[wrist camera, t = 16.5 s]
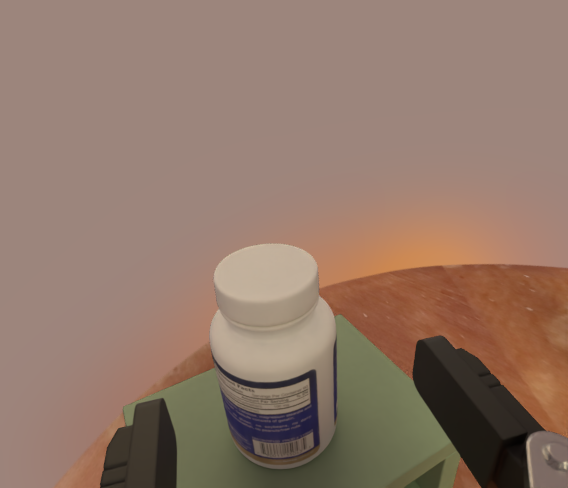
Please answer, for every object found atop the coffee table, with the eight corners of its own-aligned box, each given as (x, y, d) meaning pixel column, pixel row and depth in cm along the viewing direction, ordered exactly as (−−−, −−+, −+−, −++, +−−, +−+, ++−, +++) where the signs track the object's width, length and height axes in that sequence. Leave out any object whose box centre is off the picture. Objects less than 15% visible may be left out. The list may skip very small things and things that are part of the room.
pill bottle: (270, 363, 22) (254, 225, 18) (354, 403, 19) (359, 251, 15) (206, 437, 18) (165, 284, 14) (299, 498, 16) (285, 333, 11)
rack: (340, 386, 29) (340, 313, 25) (447, 511, 21) (468, 430, 18) (153, 482, 23) (121, 406, 20) (202, 700, 16) (164, 635, 12)
